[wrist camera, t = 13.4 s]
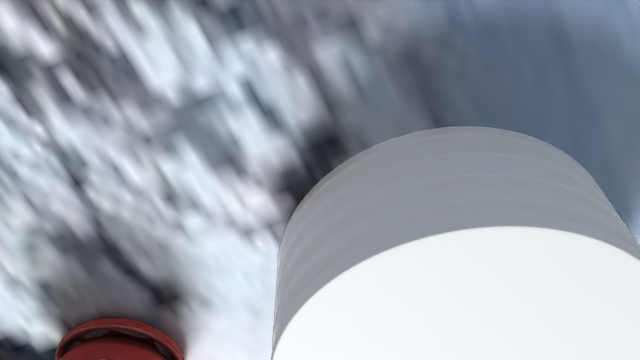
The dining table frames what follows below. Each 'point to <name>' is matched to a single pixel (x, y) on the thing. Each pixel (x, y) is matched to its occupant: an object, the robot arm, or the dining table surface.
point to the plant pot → (117, 342)
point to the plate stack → (457, 256)
